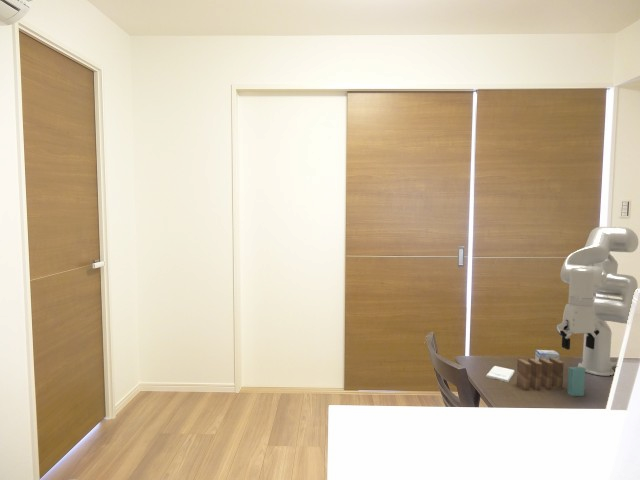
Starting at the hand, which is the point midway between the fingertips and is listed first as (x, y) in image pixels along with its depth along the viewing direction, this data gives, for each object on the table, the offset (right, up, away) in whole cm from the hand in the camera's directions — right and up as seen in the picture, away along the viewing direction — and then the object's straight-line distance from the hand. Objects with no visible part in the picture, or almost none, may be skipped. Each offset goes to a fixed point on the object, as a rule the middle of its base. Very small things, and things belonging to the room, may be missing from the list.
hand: (577, 348), depth 147 cm
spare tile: (0, -17, +2) cm, 18 cm away
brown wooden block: (-12, -17, +8) cm, 22 cm away
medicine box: (+1, -16, +23) cm, 28 cm away
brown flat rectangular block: (-7, -17, +9) cm, 20 cm away
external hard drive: (-20, -17, +19) cm, 32 cm away
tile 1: (-3, -17, +9) cm, 19 cm away
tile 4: (-16, -17, +7) cm, 25 cm away
